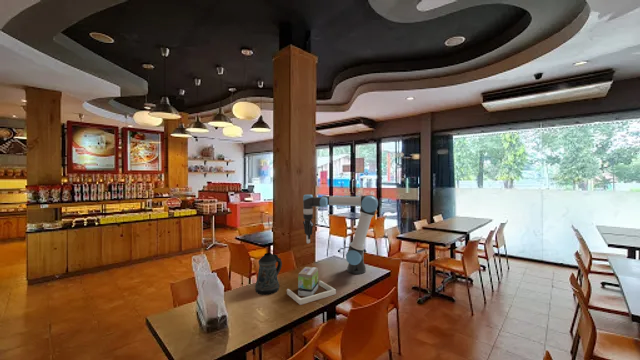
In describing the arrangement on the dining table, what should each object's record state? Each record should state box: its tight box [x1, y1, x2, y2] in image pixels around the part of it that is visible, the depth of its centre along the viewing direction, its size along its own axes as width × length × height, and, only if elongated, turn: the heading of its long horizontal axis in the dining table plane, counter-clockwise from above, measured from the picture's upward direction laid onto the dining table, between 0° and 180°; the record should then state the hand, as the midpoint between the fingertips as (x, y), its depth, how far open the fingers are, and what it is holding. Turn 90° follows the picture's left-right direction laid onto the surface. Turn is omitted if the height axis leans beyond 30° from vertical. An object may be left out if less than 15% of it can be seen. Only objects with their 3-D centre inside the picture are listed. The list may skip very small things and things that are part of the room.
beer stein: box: [254, 252, 283, 296], centre depth 188 cm, size 16×19×25 cm
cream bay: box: [286, 280, 337, 306], centre depth 180 cm, size 27×18×3 cm
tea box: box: [297, 266, 319, 297], centre depth 183 cm, size 15×10×15 cm, turn 164°
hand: (308, 242), depth 218 cm, fingers closed
